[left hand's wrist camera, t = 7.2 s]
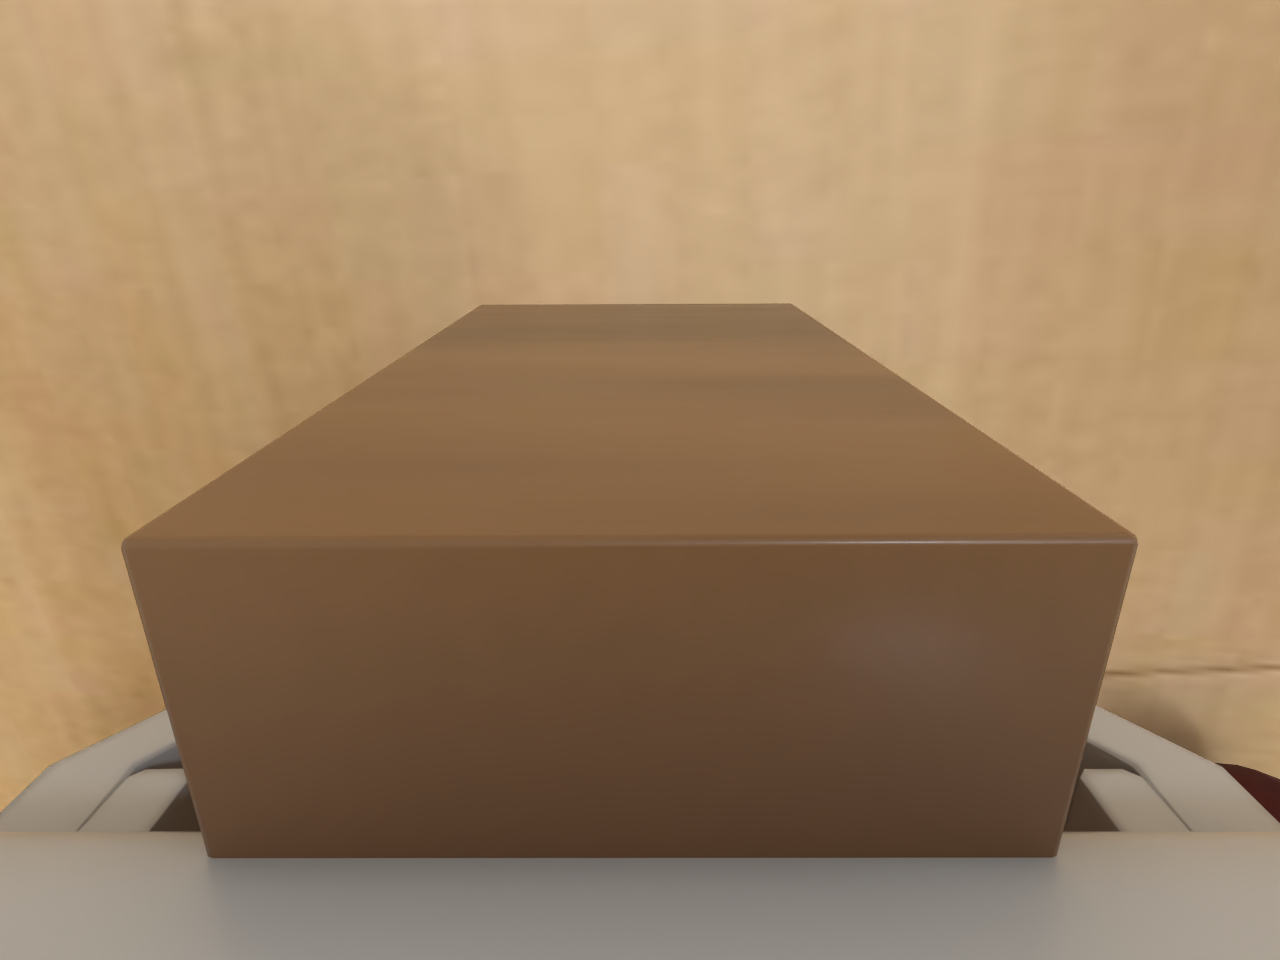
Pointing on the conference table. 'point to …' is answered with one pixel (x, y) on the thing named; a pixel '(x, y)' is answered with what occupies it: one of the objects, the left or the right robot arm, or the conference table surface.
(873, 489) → the box
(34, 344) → the conference table surface
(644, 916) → the left robot arm
